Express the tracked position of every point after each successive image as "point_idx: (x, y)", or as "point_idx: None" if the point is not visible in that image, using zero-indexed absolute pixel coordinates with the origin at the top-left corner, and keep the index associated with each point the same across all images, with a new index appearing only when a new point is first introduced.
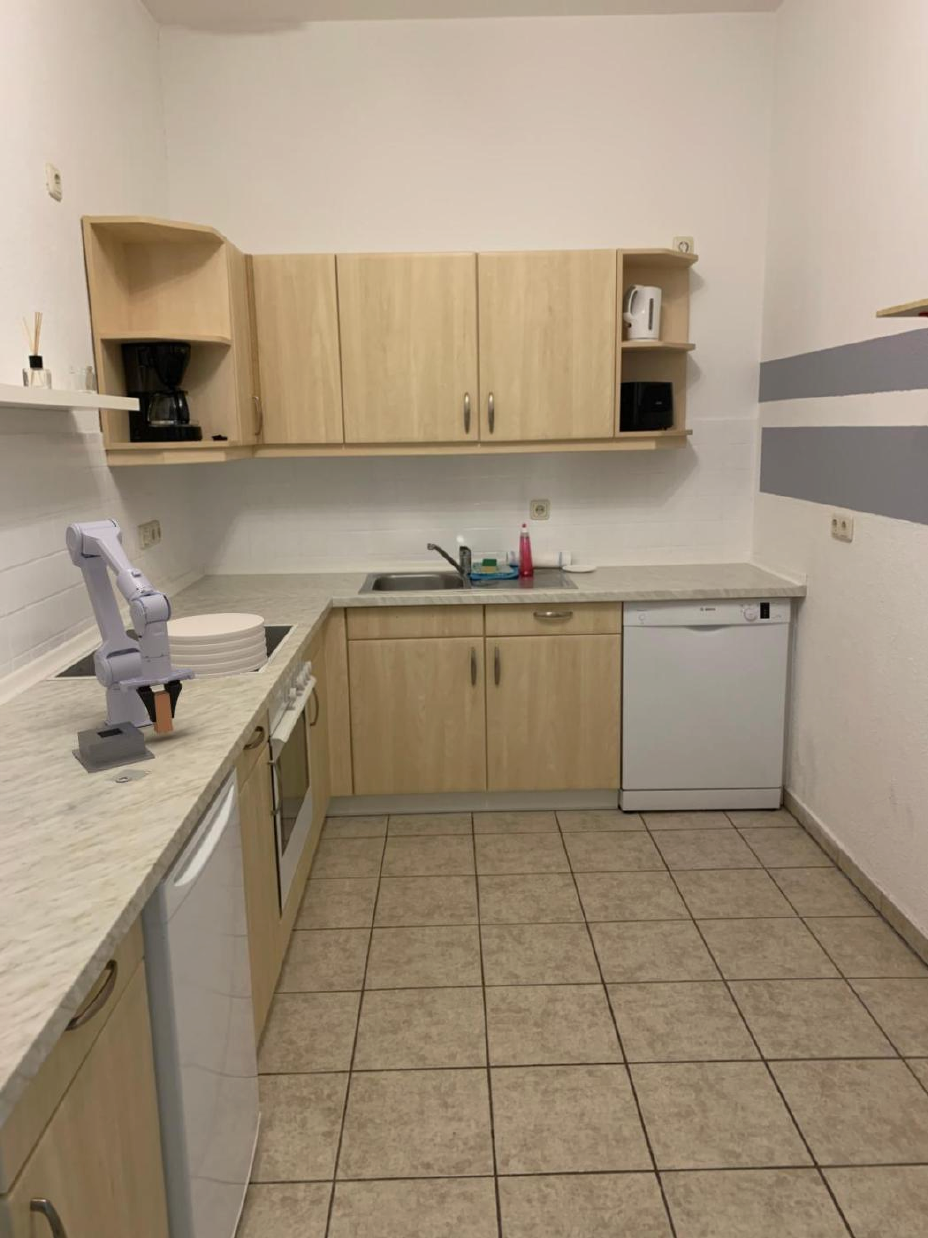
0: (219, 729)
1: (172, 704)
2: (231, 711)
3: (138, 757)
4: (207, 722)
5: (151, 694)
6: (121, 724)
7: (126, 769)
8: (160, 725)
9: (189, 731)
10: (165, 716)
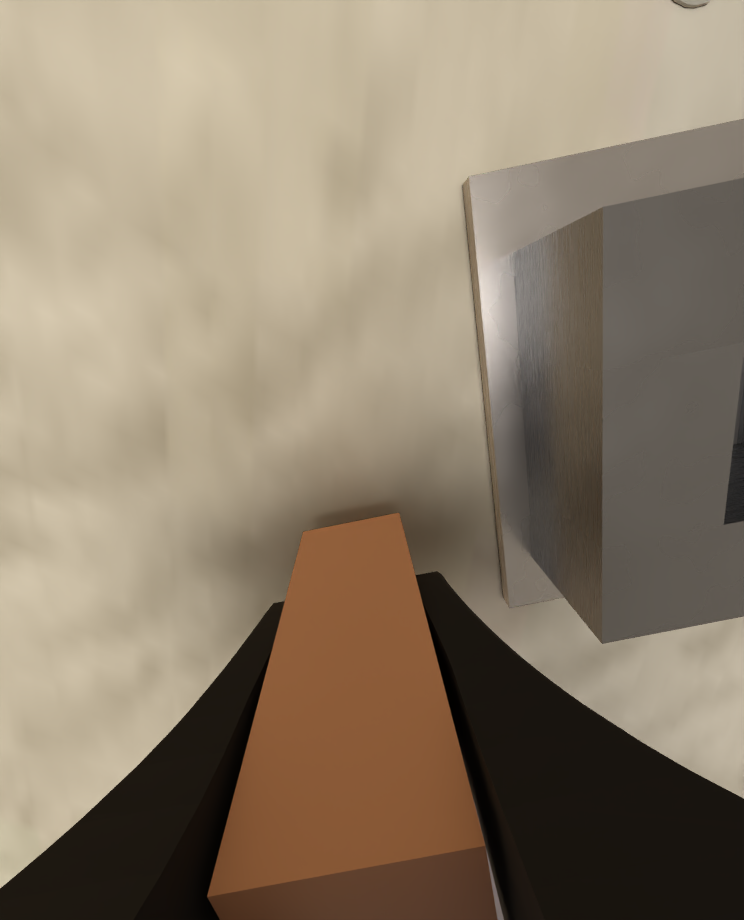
0: (44, 553)
1: (237, 697)
2: (8, 782)
3: (576, 184)
4: (124, 685)
5: (603, 870)
6: (673, 599)
7: (689, 2)
8: (384, 546)
9: (220, 594)
10: (337, 595)
